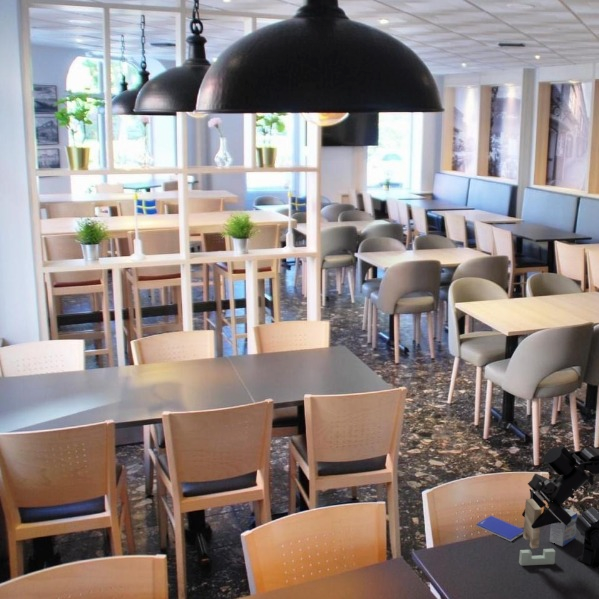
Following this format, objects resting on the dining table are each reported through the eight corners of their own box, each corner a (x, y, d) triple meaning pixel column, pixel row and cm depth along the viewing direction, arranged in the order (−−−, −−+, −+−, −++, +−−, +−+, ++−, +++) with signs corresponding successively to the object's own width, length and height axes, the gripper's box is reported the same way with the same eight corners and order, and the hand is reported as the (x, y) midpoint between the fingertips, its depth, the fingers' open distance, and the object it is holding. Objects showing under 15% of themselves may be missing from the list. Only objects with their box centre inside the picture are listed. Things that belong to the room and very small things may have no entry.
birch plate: (529, 536, 231) (532, 498, 228) (538, 548, 225) (541, 509, 222) (523, 537, 231) (525, 499, 228) (531, 548, 225) (534, 509, 222)
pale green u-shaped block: (551, 561, 231) (553, 548, 230) (554, 564, 229) (555, 551, 228) (518, 562, 230) (519, 550, 229) (521, 565, 228) (522, 553, 227)
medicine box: (562, 547, 238) (564, 521, 237) (548, 541, 242) (551, 515, 240) (575, 538, 244) (578, 512, 242) (562, 533, 247) (564, 507, 245)
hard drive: (476, 523, 250) (510, 538, 241) (491, 515, 255) (525, 529, 247) (476, 528, 250) (510, 543, 242) (491, 519, 256) (524, 534, 247)
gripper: (536, 453, 232) (497, 489, 233) (564, 481, 214) (522, 520, 215) (560, 476, 235) (522, 512, 236) (589, 506, 217) (547, 545, 218)
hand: (527, 521), depth 226 cm, fingers closed on birch plate, 6 cm apart
